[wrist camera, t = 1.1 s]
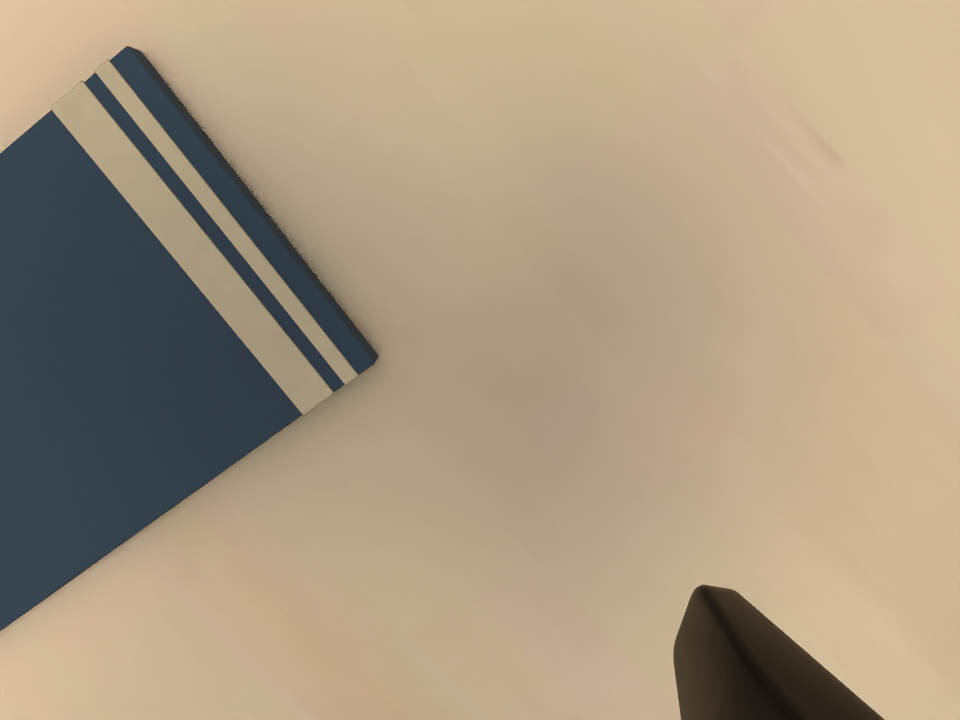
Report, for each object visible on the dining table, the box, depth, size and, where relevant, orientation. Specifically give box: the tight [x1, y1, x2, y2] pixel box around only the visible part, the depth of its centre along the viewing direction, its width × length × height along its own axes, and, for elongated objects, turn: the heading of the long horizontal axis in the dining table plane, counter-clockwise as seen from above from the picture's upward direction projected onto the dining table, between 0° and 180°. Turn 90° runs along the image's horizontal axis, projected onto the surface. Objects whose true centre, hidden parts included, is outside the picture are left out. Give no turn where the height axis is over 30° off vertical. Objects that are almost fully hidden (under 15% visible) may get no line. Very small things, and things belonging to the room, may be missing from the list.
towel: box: [0, 46, 378, 631], centre depth 22 cm, size 20×11×1 cm, turn 126°
